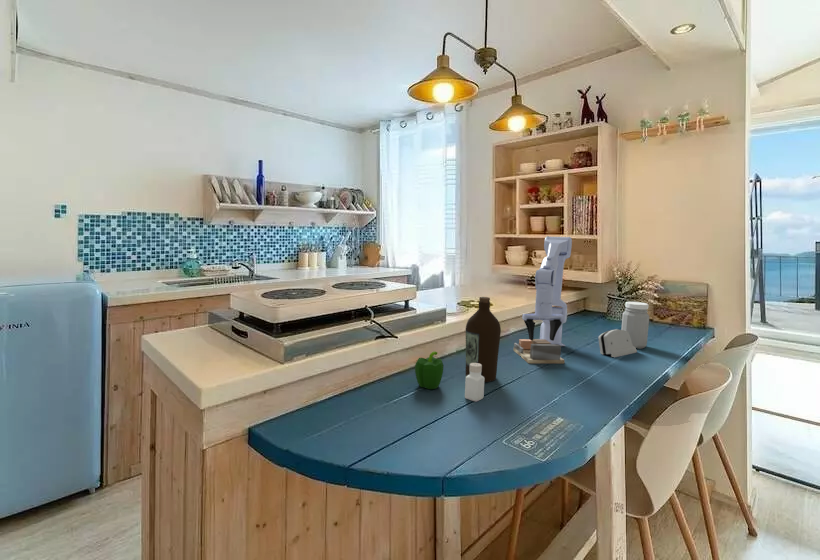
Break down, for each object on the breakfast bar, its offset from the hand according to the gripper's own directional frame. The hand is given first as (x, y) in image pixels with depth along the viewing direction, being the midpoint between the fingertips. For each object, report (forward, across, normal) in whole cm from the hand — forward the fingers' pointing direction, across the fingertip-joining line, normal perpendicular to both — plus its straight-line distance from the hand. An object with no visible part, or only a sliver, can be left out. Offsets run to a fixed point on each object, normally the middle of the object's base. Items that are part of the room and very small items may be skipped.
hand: (541, 339), depth 152 cm
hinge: (+7, +34, +9) cm, 36 cm away
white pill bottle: (+7, -33, -37) cm, 50 cm away
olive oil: (+7, -27, -20) cm, 34 cm away
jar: (+7, +47, +18) cm, 51 cm away
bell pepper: (+7, -44, -28) cm, 53 cm away
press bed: (+7, 0, +2) cm, 7 cm away
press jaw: (+5, 0, +8) cm, 9 cm away
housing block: (+5, 0, 0) cm, 5 cm away
